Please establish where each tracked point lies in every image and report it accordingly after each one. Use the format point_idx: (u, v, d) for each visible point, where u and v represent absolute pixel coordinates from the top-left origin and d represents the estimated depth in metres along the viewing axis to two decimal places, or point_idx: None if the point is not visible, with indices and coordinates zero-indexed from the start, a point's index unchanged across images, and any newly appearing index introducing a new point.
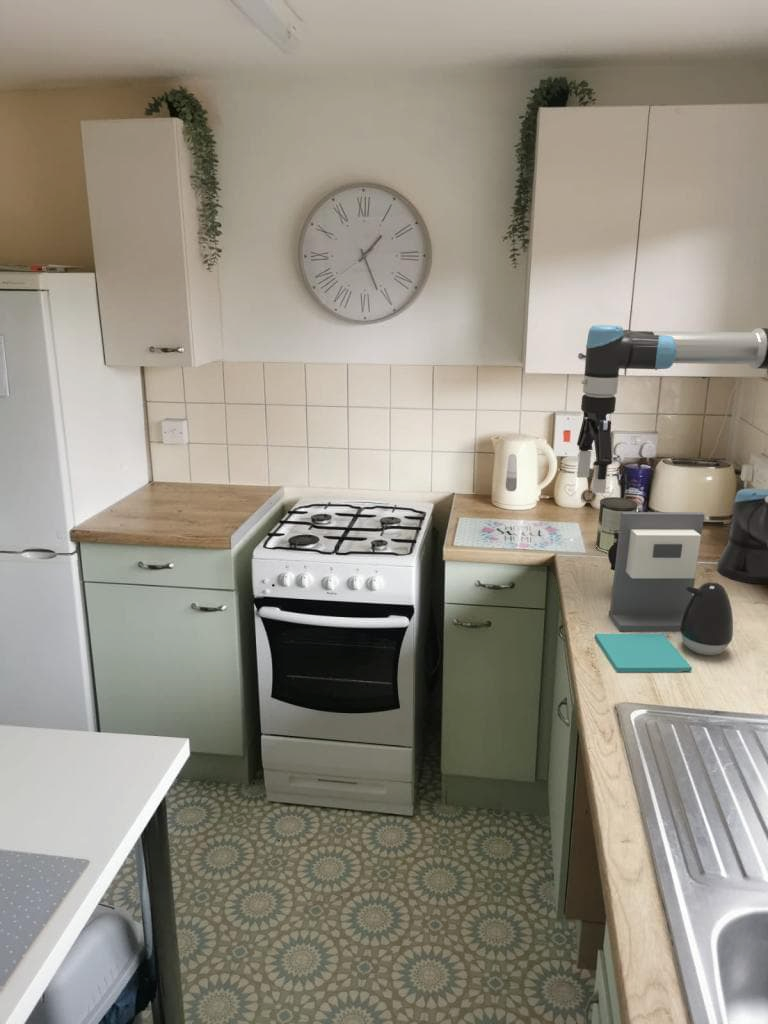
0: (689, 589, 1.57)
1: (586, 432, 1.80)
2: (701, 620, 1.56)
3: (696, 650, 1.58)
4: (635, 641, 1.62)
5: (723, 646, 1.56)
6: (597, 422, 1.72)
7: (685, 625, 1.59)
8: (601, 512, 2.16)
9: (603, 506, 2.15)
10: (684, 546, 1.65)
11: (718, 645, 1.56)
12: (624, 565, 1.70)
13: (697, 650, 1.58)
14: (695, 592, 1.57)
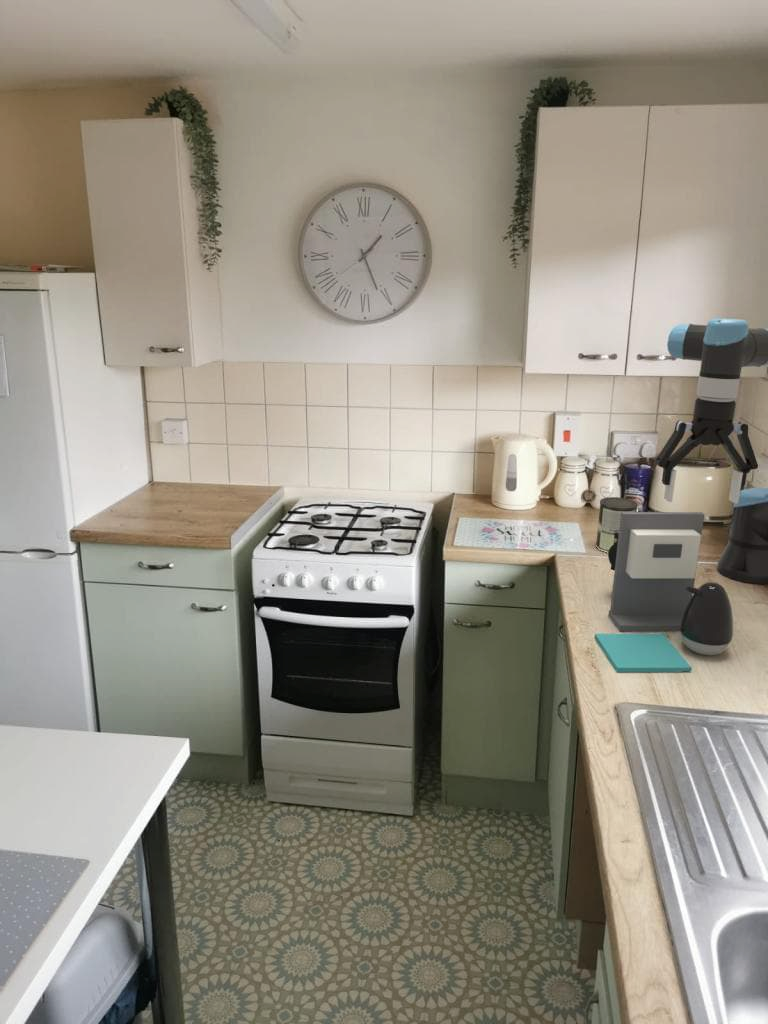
0: (689, 589, 1.57)
1: (721, 443, 1.56)
2: (701, 620, 1.56)
3: (696, 650, 1.58)
4: (635, 641, 1.62)
5: (723, 646, 1.56)
6: None
7: (685, 625, 1.59)
8: (601, 512, 2.16)
9: (603, 506, 2.15)
10: (684, 546, 1.65)
11: (718, 645, 1.56)
12: (624, 565, 1.70)
13: (697, 650, 1.58)
14: (695, 592, 1.57)
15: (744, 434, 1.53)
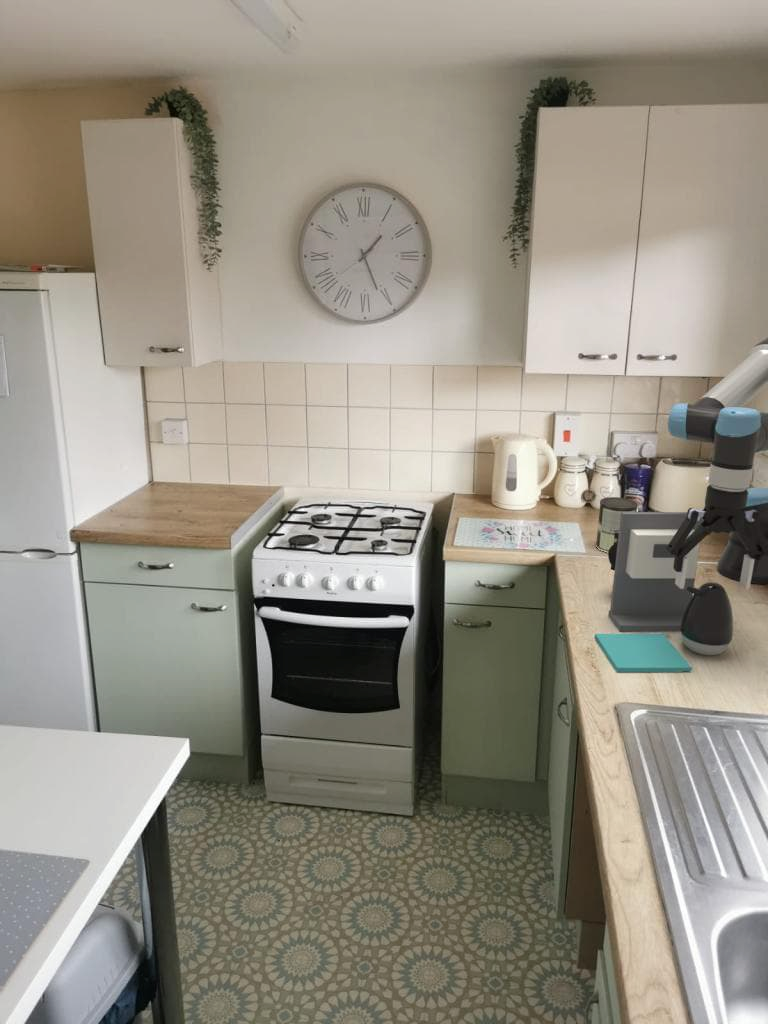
0: (689, 589, 1.57)
1: None
2: (701, 620, 1.56)
3: (696, 650, 1.58)
4: (635, 641, 1.62)
5: (723, 646, 1.56)
6: None
7: (685, 625, 1.59)
8: (601, 512, 2.16)
9: (603, 506, 2.15)
10: None
11: (718, 645, 1.56)
12: (624, 565, 1.70)
13: (697, 650, 1.58)
14: (695, 592, 1.57)
15: (756, 522, 1.52)
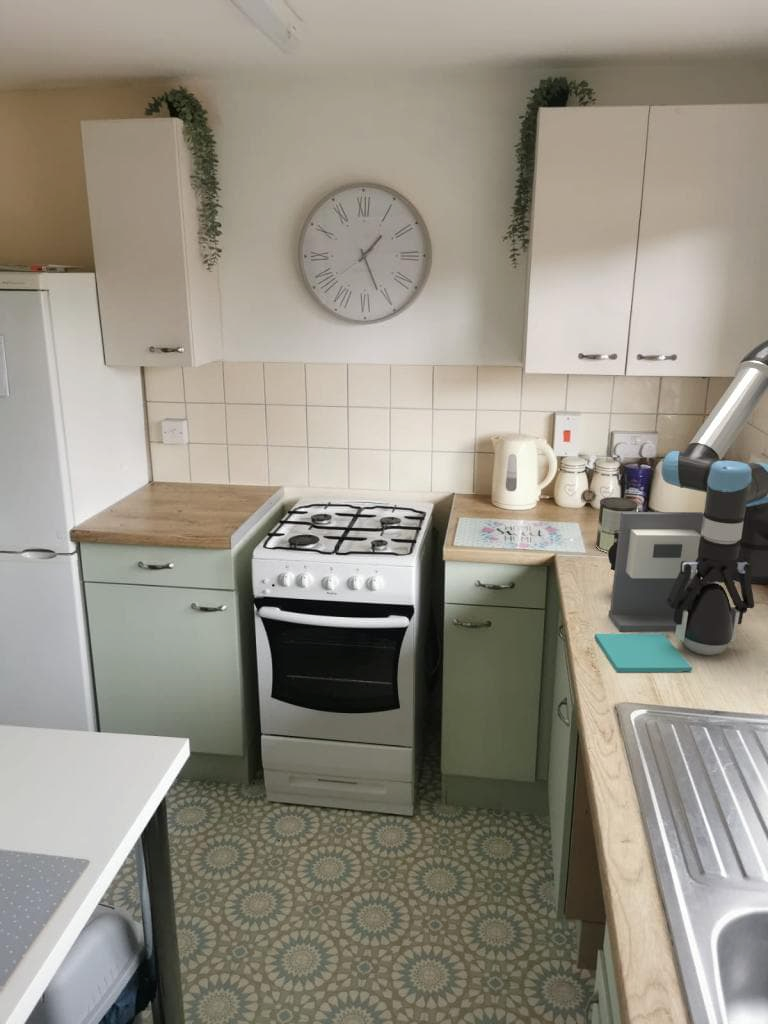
0: (689, 589, 1.57)
1: None
2: (701, 620, 1.56)
3: (696, 650, 1.58)
4: (635, 641, 1.62)
5: (723, 646, 1.56)
6: None
7: None
8: (601, 512, 2.16)
9: (603, 506, 2.15)
10: (684, 546, 1.65)
11: (718, 645, 1.55)
12: (624, 565, 1.70)
13: (697, 650, 1.58)
14: None
15: (746, 574, 1.55)
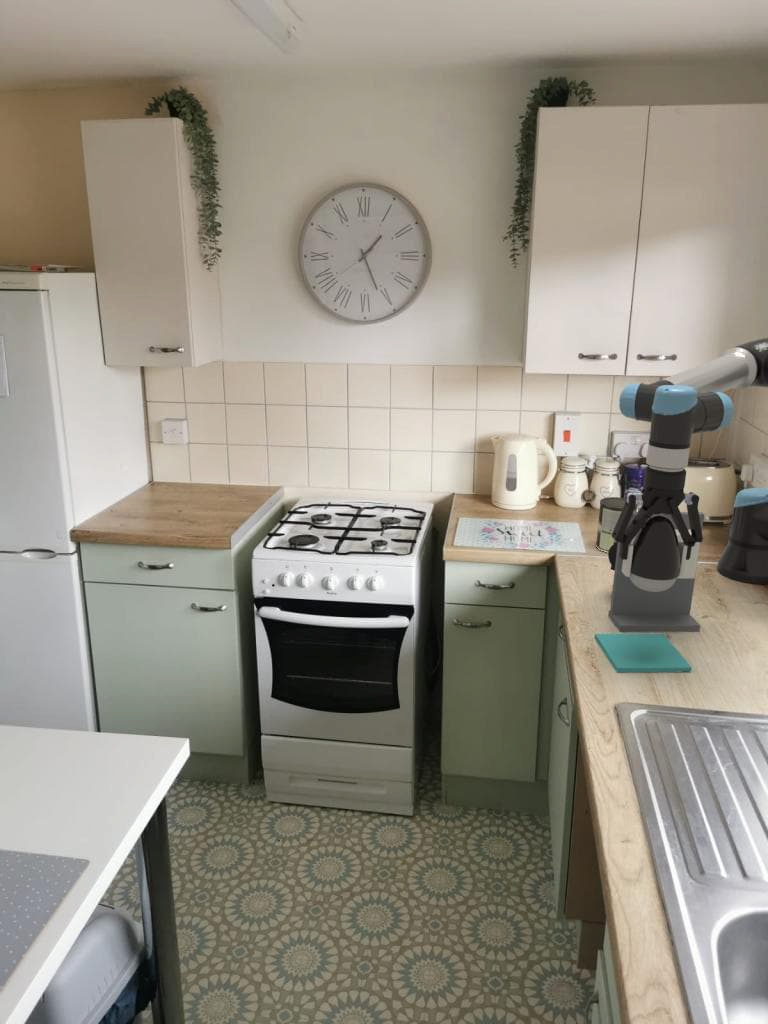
0: (634, 522, 1.50)
1: (669, 512, 1.51)
2: (646, 554, 1.49)
3: (642, 586, 1.51)
4: (635, 641, 1.62)
5: (669, 581, 1.50)
6: None
7: None
8: (601, 512, 2.16)
9: (603, 506, 2.15)
10: None
11: (664, 579, 1.49)
12: None
13: (643, 585, 1.51)
14: None
15: (694, 505, 1.48)
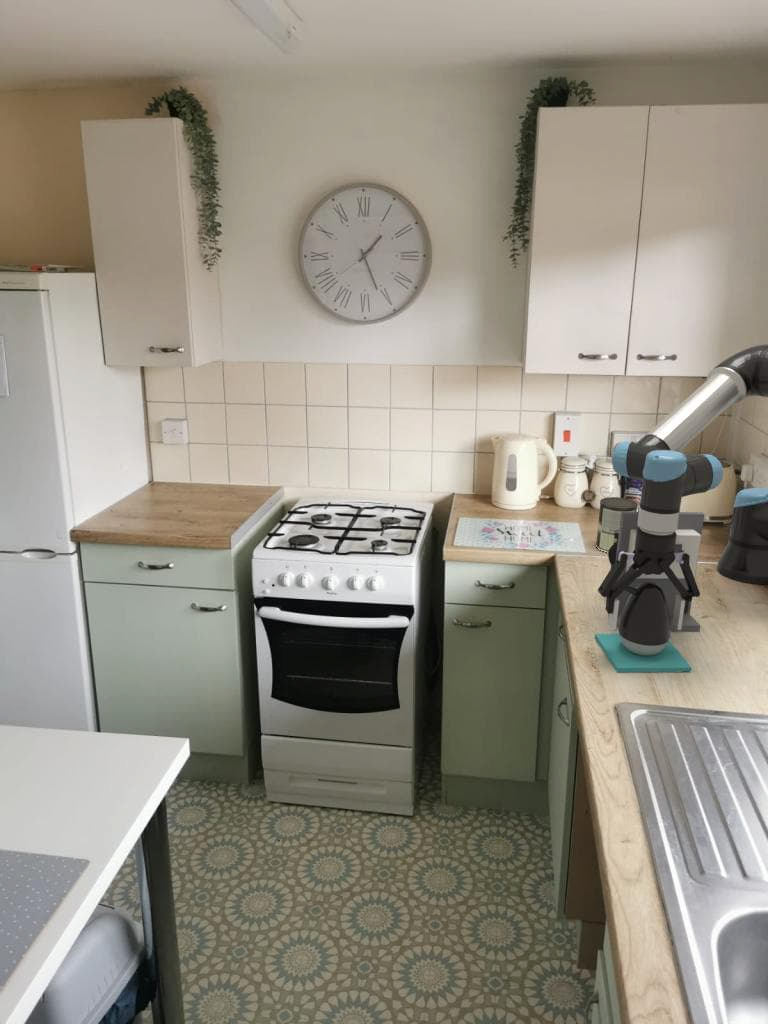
0: None
1: None
2: (637, 620, 1.53)
3: (633, 650, 1.56)
4: None
5: (660, 646, 1.54)
6: None
7: (622, 625, 1.56)
8: (601, 512, 2.16)
9: (603, 506, 2.15)
10: (684, 546, 1.65)
11: (654, 645, 1.53)
12: None
13: (634, 650, 1.55)
14: (631, 591, 1.54)
15: (685, 564, 1.52)
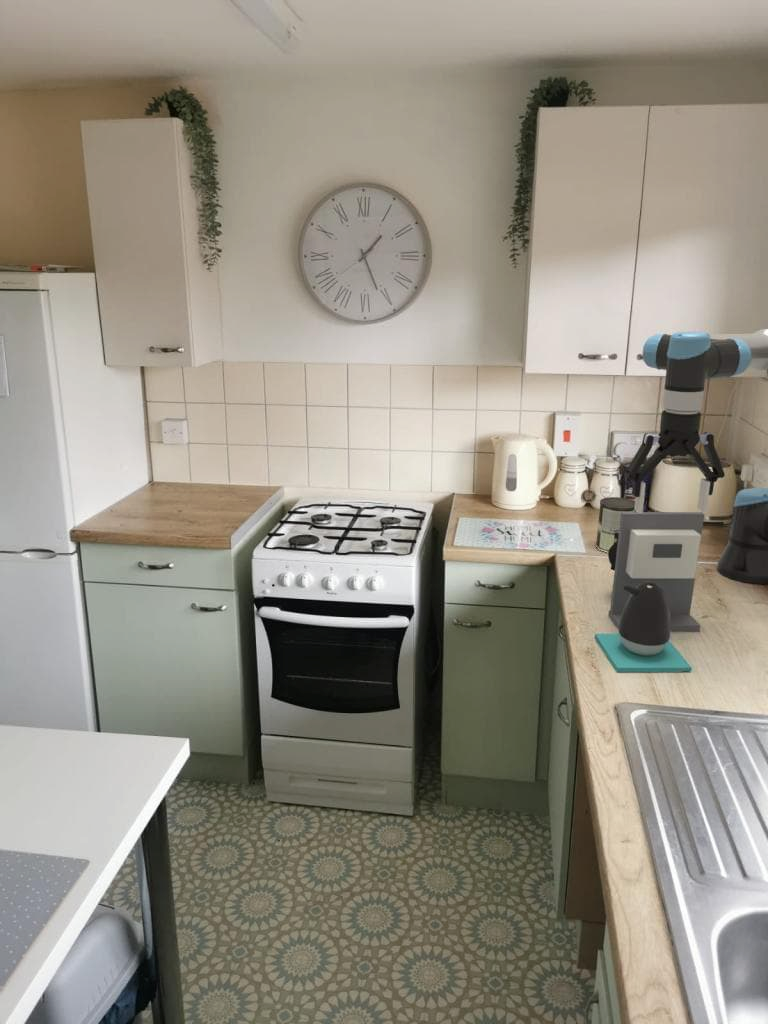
0: (625, 588, 1.54)
1: (688, 453, 1.58)
2: (637, 620, 1.53)
3: (633, 650, 1.56)
4: None
5: (660, 646, 1.54)
6: None
7: (622, 625, 1.56)
8: (601, 512, 2.16)
9: (603, 506, 2.15)
10: (684, 546, 1.65)
11: (654, 645, 1.53)
12: (624, 565, 1.70)
13: (634, 650, 1.55)
14: (631, 591, 1.54)
15: (710, 444, 1.55)
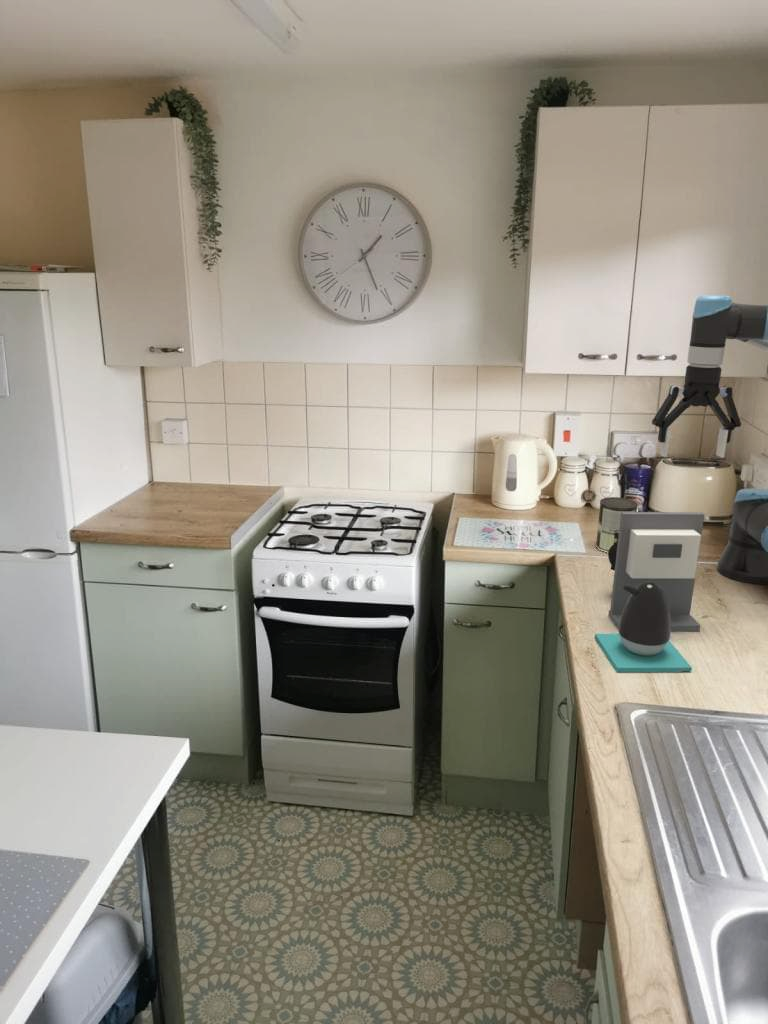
0: (625, 588, 1.54)
1: (708, 405, 1.79)
2: (637, 620, 1.53)
3: (633, 650, 1.56)
4: None
5: (660, 646, 1.54)
6: None
7: (622, 625, 1.56)
8: (601, 512, 2.16)
9: (603, 506, 2.15)
10: (684, 546, 1.65)
11: (654, 645, 1.53)
12: (624, 565, 1.70)
13: (634, 650, 1.55)
14: (631, 591, 1.54)
15: (729, 396, 1.76)
